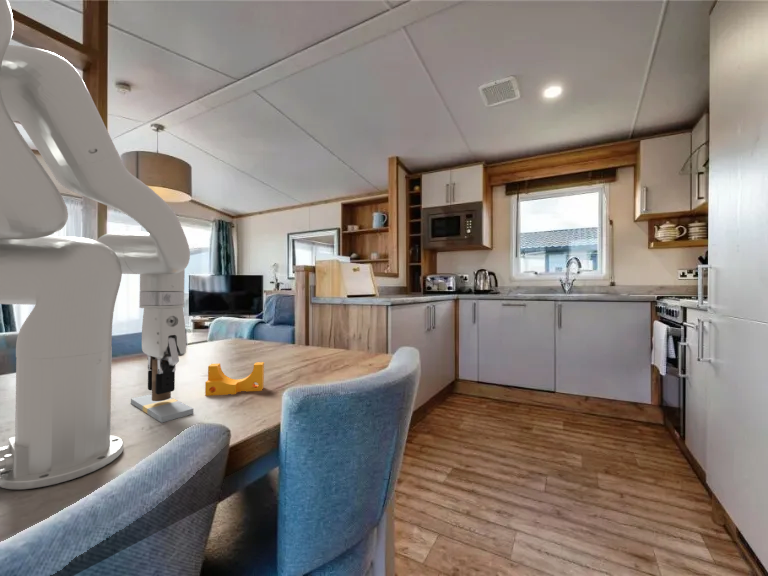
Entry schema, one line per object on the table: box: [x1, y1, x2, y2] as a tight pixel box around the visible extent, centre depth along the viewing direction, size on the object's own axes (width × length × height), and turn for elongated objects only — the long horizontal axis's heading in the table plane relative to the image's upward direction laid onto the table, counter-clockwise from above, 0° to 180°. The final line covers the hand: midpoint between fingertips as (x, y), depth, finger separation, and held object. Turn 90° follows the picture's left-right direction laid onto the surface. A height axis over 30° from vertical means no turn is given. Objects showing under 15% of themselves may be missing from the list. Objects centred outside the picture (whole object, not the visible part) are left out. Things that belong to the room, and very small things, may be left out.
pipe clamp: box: [204, 361, 265, 397], centre depth 78 cm, size 12×4×6 cm, turn 102°
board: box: [130, 393, 194, 424], centre depth 66 cm, size 6×16×1 cm, turn 54°
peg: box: [151, 354, 172, 401], centre depth 66 cm, size 3×3×9 cm
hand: (161, 389), depth 66 cm, fingers closed on peg, 3 cm apart
